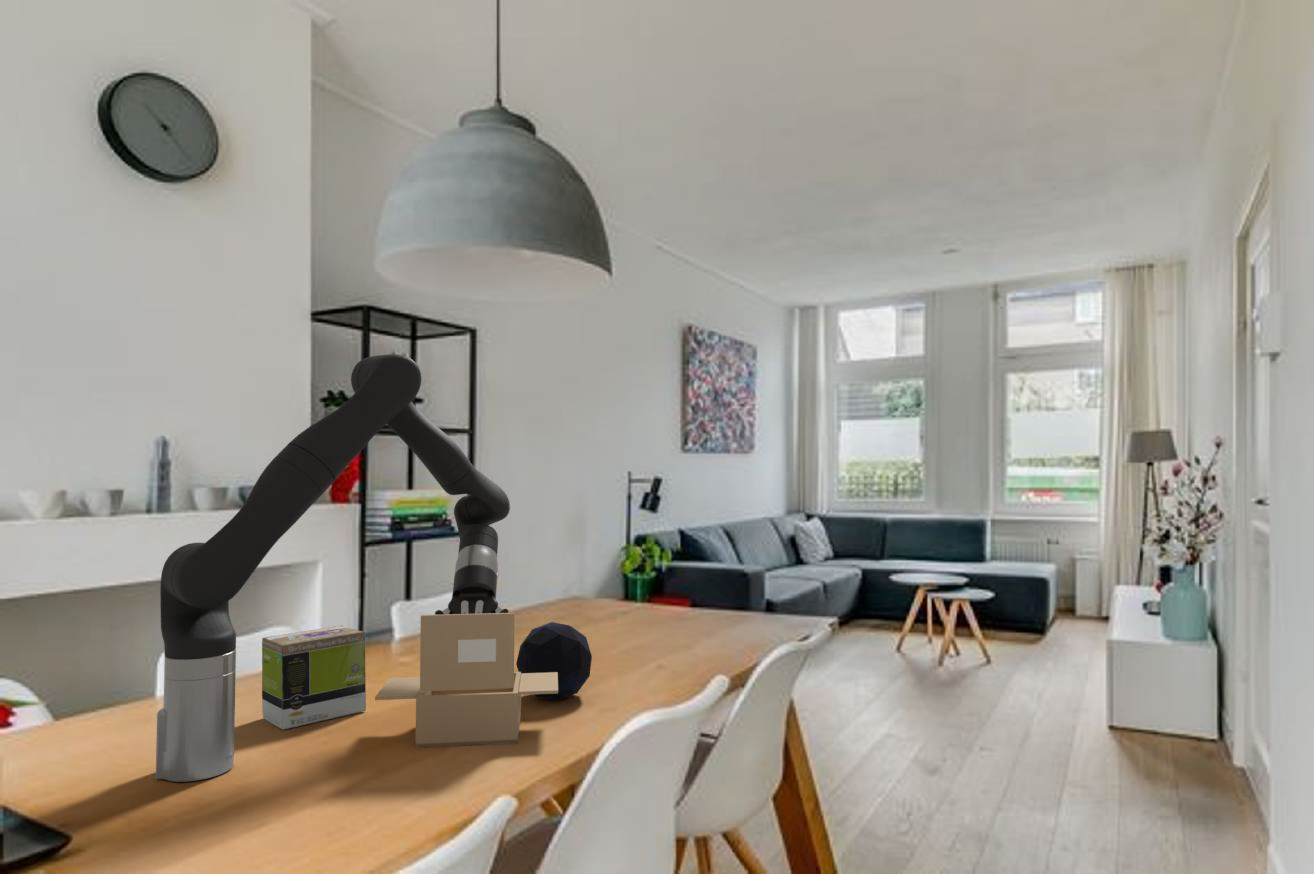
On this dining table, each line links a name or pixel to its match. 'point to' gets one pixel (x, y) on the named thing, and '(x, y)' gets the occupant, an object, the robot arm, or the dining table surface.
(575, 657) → the decorative orb
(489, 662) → the cardboard box flap
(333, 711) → the tea box
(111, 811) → the dining table surface
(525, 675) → the carton
